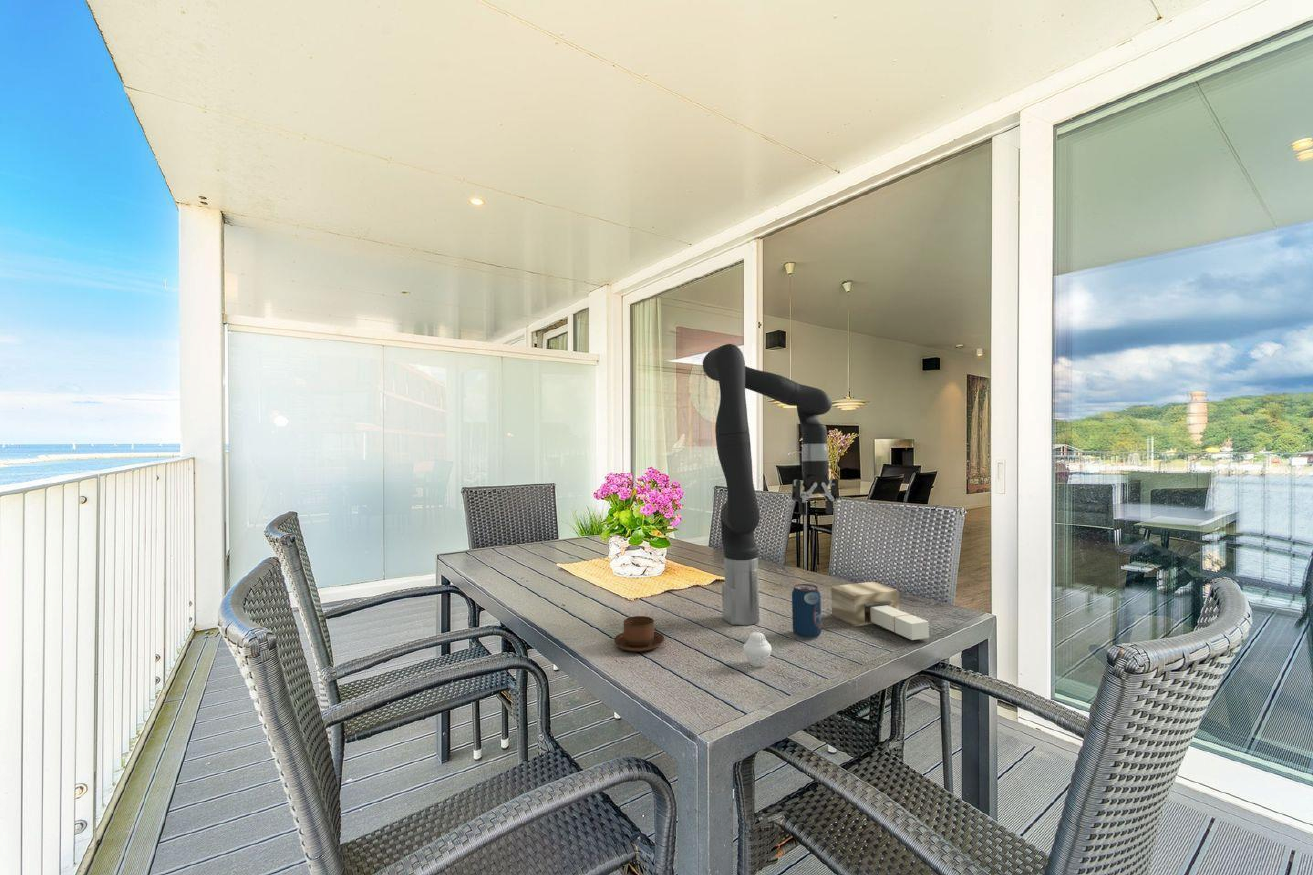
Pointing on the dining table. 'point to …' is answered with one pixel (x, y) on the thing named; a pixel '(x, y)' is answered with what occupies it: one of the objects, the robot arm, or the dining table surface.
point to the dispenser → (861, 601)
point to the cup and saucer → (639, 635)
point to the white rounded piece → (757, 649)
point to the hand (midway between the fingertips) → (816, 514)
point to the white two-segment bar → (900, 622)
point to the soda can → (806, 611)
